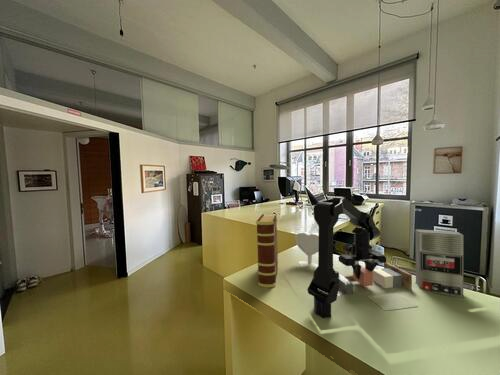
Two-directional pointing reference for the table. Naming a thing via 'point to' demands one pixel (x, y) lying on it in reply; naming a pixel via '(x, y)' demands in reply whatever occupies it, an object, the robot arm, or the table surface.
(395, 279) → the book
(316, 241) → the heart sculpture
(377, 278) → the cream rectangular block
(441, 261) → the cassette tape recorder
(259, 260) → the decorative book
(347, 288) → the bookend
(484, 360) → the table surface
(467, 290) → the table surface
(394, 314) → the table surface
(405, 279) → the shelf
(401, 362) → the table surface
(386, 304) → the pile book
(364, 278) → the salmon pink box
